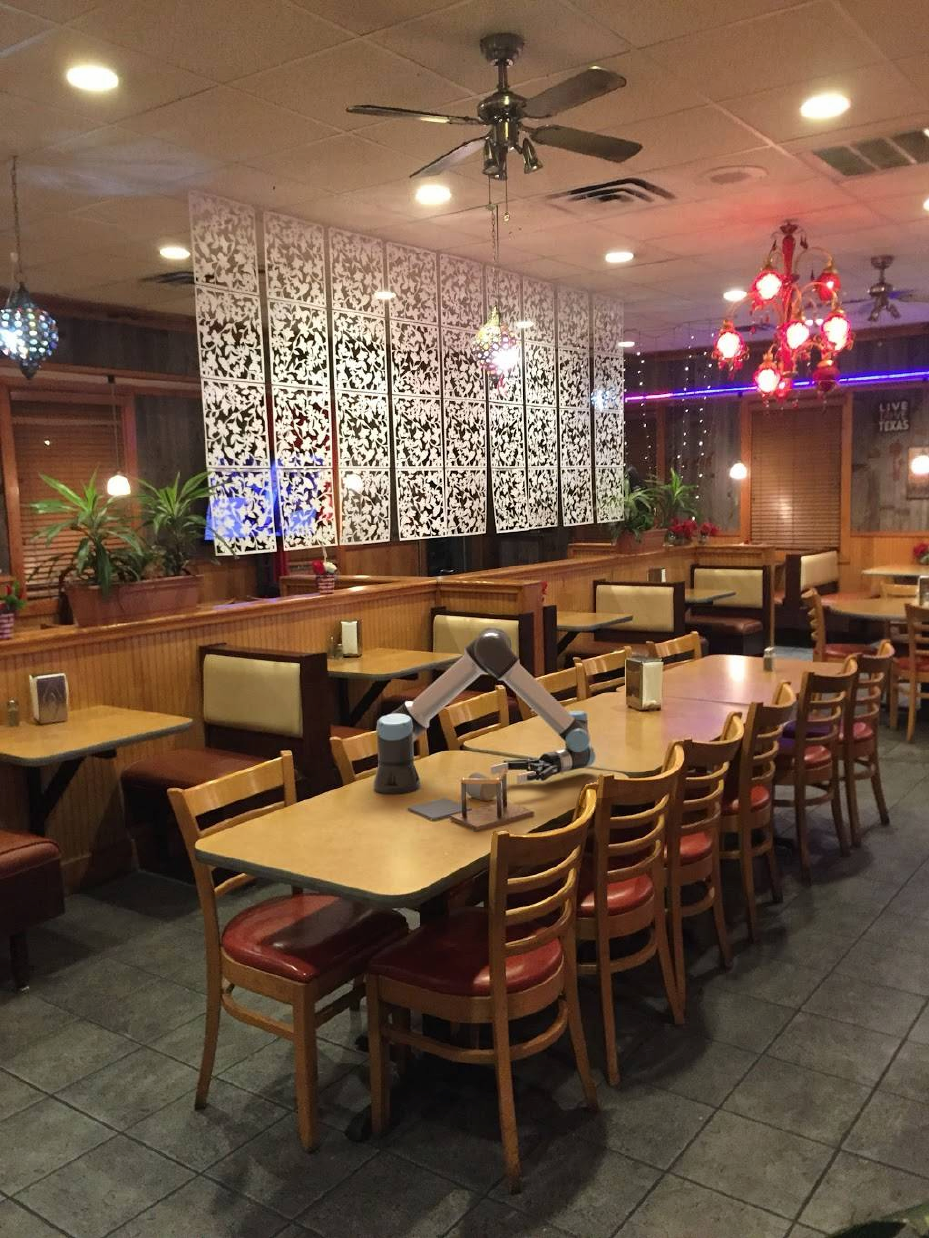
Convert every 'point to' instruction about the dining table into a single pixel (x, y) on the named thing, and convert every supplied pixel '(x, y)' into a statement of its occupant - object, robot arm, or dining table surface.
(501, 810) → the bent rail stand
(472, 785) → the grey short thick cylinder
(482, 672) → the robot arm
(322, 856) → the dining table surface
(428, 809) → the rubber mat
